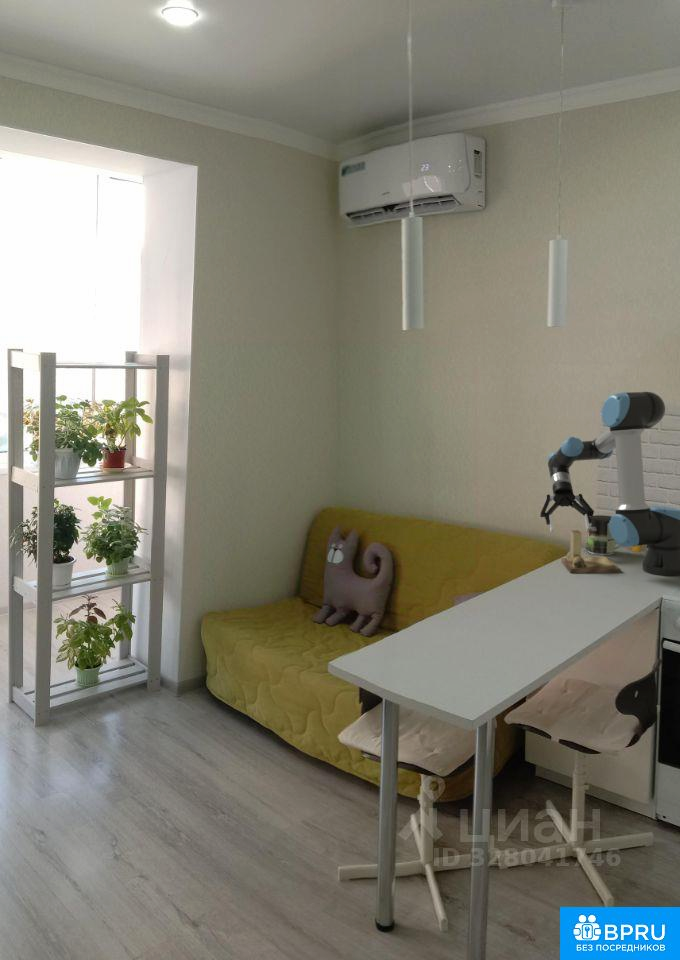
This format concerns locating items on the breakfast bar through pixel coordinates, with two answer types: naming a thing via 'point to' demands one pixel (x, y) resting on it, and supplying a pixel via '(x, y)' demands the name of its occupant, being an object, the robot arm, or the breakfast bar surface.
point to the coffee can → (600, 536)
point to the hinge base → (590, 565)
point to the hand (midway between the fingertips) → (570, 530)
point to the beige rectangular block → (575, 545)
